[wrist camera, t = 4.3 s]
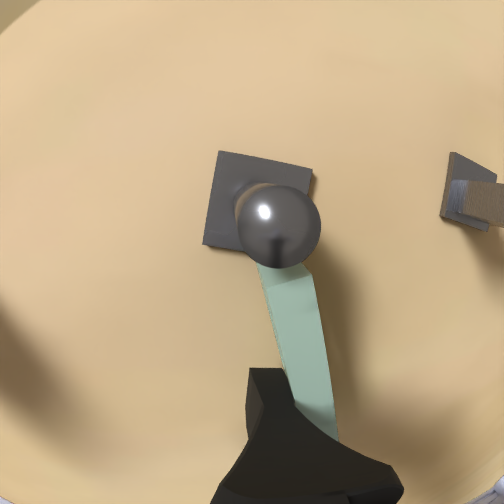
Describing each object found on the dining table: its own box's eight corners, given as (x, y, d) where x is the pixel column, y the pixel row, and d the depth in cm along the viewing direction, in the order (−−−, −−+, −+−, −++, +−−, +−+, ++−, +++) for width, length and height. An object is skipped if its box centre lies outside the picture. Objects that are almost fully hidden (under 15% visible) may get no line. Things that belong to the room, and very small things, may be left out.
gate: (252, 250, 11) (265, 288, 8) (284, 242, 11) (312, 274, 8) (299, 430, 14) (316, 487, 10) (321, 423, 14) (342, 479, 10)
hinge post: (291, 256, 12) (336, 314, 7) (203, 242, 12) (184, 293, 7) (309, 169, 12) (372, 165, 6) (219, 151, 11) (211, 128, 6)
